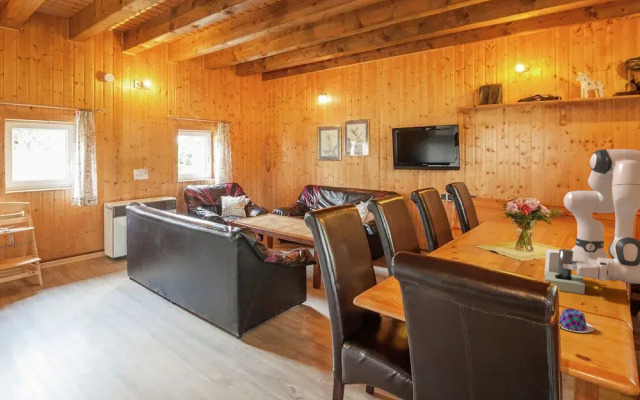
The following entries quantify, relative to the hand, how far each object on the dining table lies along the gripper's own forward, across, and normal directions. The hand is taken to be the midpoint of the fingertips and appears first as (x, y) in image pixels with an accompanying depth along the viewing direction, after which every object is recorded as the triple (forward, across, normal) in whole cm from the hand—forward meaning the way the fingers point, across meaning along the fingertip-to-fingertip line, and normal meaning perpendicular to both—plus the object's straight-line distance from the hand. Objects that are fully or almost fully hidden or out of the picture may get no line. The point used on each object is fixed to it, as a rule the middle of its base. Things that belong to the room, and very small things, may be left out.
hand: (562, 263), depth 168 cm
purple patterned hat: (-2, +45, +11) cm, 46 cm away
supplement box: (+2, -13, +10) cm, 17 cm away
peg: (-1, 0, +8) cm, 8 cm away
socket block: (-1, 0, +10) cm, 10 cm away
